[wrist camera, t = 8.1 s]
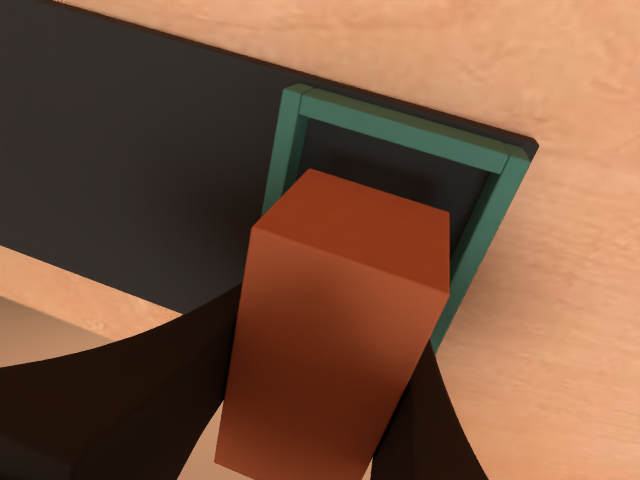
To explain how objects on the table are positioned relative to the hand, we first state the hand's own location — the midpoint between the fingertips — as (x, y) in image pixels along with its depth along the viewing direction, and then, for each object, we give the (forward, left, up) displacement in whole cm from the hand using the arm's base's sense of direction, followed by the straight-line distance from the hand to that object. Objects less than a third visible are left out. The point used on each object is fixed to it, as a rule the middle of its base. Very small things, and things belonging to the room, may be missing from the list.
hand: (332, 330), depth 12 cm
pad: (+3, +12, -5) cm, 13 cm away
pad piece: (0, 0, -1) cm, 1 cm away
